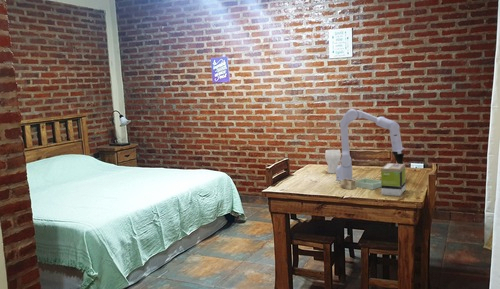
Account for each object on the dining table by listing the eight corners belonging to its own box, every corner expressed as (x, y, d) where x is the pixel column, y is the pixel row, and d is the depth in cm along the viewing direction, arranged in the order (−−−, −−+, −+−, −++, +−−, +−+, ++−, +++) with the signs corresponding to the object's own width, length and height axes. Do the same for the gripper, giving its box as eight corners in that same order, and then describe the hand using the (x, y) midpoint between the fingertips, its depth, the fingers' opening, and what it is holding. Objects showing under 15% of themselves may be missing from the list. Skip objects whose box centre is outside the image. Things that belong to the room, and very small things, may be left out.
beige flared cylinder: (343, 171, 293) (343, 149, 291) (337, 174, 285) (337, 152, 283) (328, 170, 299) (328, 149, 297) (322, 173, 290) (322, 151, 288)
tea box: (387, 188, 242) (387, 162, 240) (406, 190, 237) (406, 163, 235) (380, 194, 230) (380, 167, 228) (400, 196, 224) (400, 168, 223)
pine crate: (340, 187, 248) (340, 180, 247) (346, 186, 251) (346, 178, 250) (350, 189, 243) (350, 181, 242) (356, 188, 246) (356, 180, 245)
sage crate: (353, 186, 251) (353, 181, 250) (364, 182, 258) (364, 178, 257) (372, 189, 241) (372, 184, 240) (384, 186, 248) (384, 181, 247)
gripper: (405, 142, 249) (408, 164, 250) (401, 138, 263) (405, 160, 264) (392, 144, 250) (396, 166, 251) (389, 140, 264) (393, 162, 266)
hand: (399, 163), depth 258 cm, fingers open, 7 cm apart
